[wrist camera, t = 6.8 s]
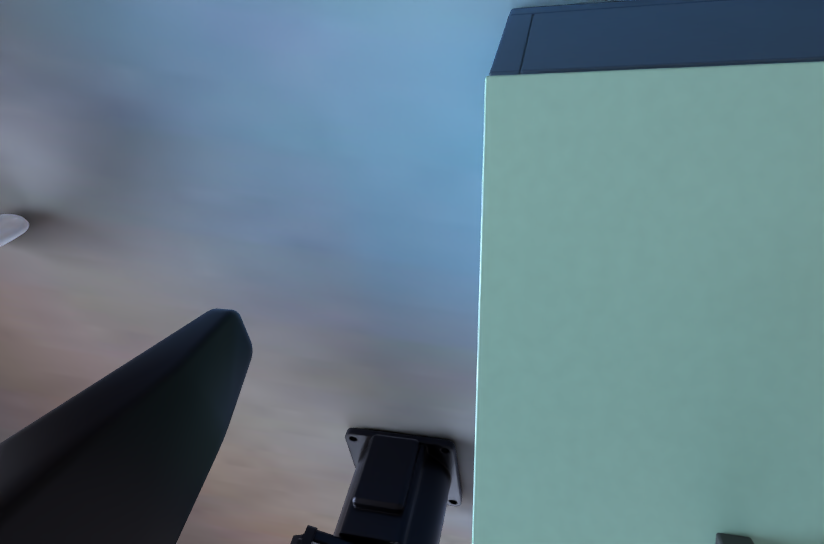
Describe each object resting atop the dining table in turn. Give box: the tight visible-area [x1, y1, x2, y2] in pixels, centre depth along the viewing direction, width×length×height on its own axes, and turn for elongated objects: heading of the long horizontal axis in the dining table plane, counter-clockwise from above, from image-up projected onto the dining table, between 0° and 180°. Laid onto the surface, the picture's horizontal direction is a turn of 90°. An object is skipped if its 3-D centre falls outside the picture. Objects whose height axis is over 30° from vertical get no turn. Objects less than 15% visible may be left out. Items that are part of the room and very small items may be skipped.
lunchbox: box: [489, 0, 824, 76], centre depth 16 cm, size 11×16×5 cm
